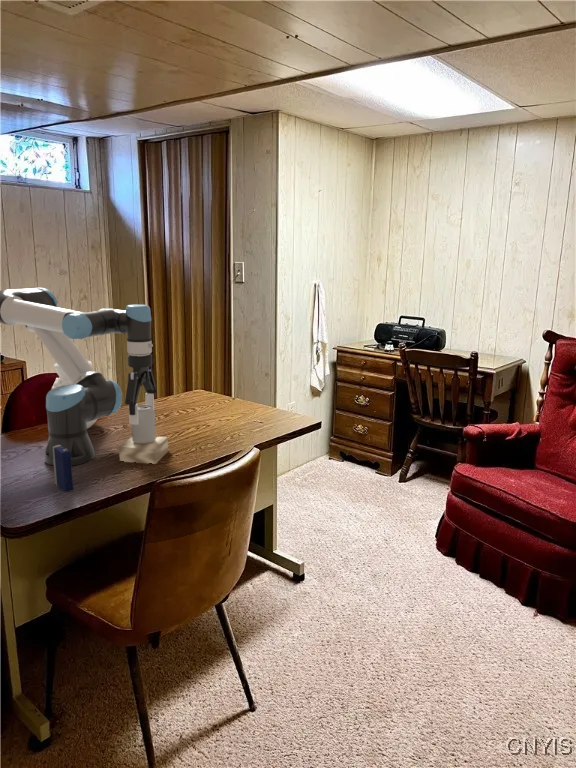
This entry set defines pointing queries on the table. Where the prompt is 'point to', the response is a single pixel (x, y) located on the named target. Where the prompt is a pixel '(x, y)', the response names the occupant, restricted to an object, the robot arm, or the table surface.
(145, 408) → the can
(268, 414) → the table surface
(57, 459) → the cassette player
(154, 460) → the pedestal
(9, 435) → the table surface
